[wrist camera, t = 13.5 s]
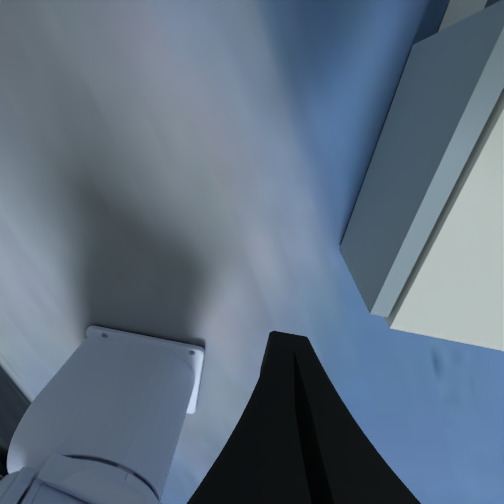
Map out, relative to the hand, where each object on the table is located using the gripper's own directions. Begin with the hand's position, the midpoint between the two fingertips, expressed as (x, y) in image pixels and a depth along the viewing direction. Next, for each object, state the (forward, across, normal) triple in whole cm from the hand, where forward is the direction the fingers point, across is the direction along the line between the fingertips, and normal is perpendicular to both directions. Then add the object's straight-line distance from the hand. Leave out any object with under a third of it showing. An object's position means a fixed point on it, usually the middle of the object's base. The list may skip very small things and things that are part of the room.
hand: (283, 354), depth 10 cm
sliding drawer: (+9, -10, -6) cm, 15 cm away
